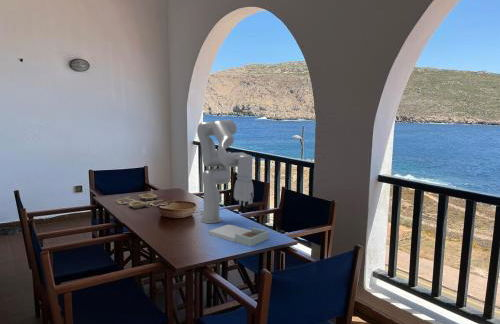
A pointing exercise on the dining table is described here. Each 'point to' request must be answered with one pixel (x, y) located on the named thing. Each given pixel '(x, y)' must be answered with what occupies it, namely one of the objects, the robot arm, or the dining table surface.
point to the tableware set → (140, 204)
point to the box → (253, 240)
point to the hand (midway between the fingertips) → (243, 212)
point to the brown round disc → (250, 234)
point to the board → (228, 232)
